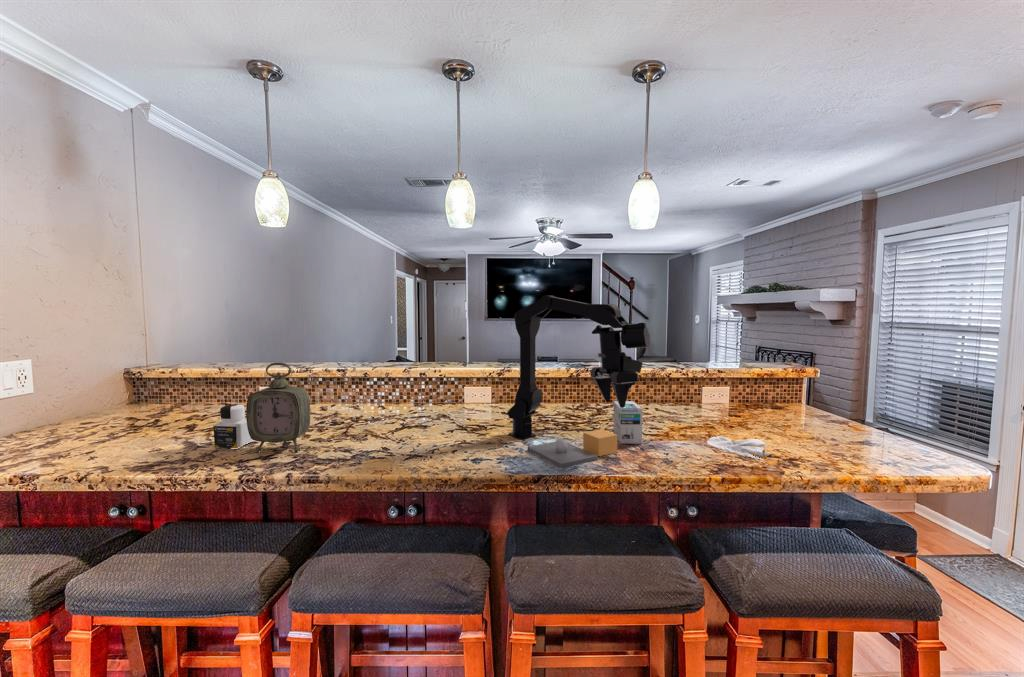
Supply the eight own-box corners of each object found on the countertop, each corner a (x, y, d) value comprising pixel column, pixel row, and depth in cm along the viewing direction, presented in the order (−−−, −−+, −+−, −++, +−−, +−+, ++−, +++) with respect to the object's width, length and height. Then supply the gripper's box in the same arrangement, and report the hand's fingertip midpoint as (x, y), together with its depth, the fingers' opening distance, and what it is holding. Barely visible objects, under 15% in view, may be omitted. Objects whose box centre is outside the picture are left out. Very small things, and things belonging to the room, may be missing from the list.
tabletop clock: (247, 455, 125) (243, 364, 123) (264, 444, 134) (260, 360, 132) (301, 454, 126) (297, 364, 124) (314, 444, 135) (311, 360, 133)
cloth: (703, 437, 143) (703, 429, 143) (782, 443, 136) (783, 436, 136) (707, 457, 124) (708, 449, 124) (800, 467, 117) (801, 457, 116)
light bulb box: (642, 444, 134) (643, 408, 133) (619, 444, 134) (620, 408, 133) (633, 434, 144) (634, 400, 144) (612, 433, 145) (613, 400, 144)
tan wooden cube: (583, 449, 129) (583, 432, 128) (601, 446, 132) (601, 429, 132) (598, 456, 123) (598, 438, 123) (617, 452, 126) (617, 434, 126)
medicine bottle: (214, 449, 130) (211, 407, 130) (232, 441, 138) (230, 402, 137) (236, 450, 130) (234, 408, 129) (253, 442, 137) (252, 403, 136)
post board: (527, 450, 129) (527, 436, 128) (562, 443, 134) (562, 430, 134) (561, 467, 115) (561, 452, 114) (597, 459, 121) (598, 444, 120)
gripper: (654, 347, 119) (658, 406, 120) (622, 345, 138) (626, 396, 138) (615, 351, 117) (619, 411, 118) (587, 349, 135) (591, 401, 136)
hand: (615, 404), depth 127 cm, fingers open, 9 cm apart
